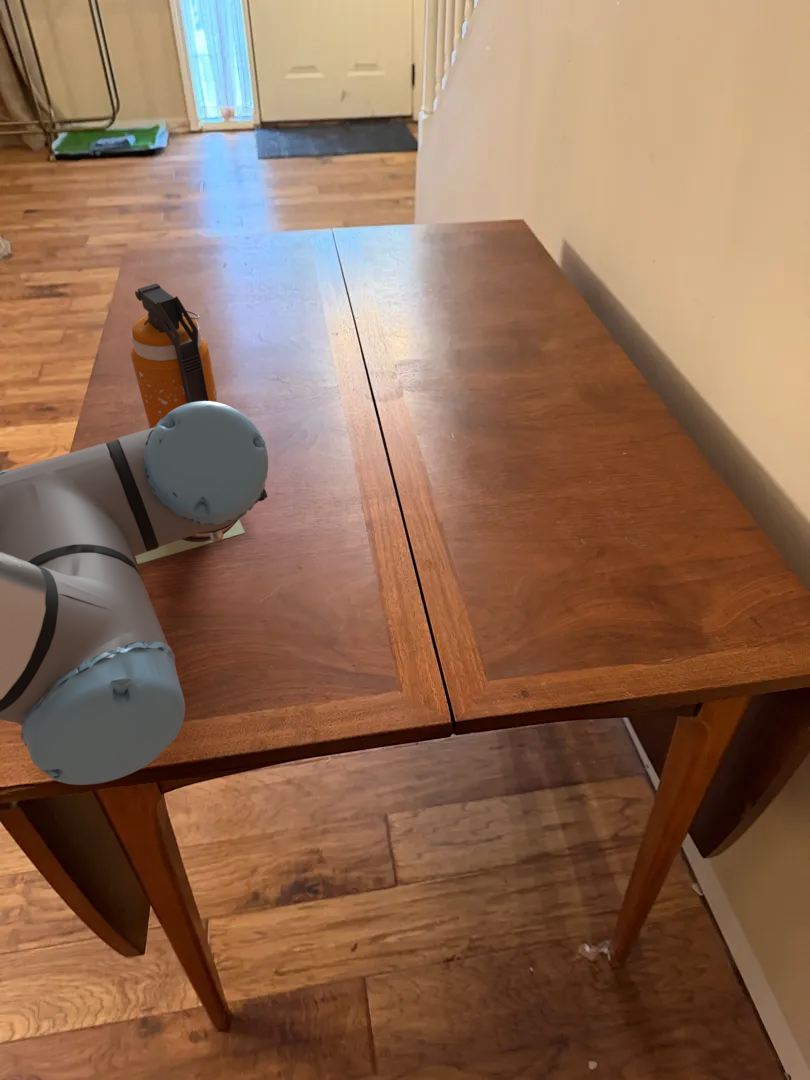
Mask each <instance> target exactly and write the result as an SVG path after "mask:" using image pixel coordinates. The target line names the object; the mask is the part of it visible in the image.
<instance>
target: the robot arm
mask: <svg viewBox="0 0 810 1080" xmlns="http://www.w3.org/2000/svg"><path fill="white" fill-rule="evenodd" d="M268 471H269V454H268V448H267V444H266V441H265V439H264V437H263V435H262V433H261V432H260V430H259V428H258V427H257V426H256V424H255V423H254V422H253V421H252V420H251V419H250V418H249V417H248V416H247V415H245V414H244V413H243V412H241V411H239V410H238V409H236V408H235V407H233V406H230V405H228V404H226V403H222V402H219V401H218V402H213V401H197V402H191V403H188V404H184V405H182V406H179V407H177V408H176V409H174V410H172V411H171V412H169V413H168V414H167V415H166V416H165V417H163V418H162V419H161V420H160V421H159V422H158V423H157V425H156V426H155V427H153V428H150V427H149V428H147V429H144V430H141V431H137V432H134V433H130V434H127V435H123V436H120V437H117V439H114V440H111V441H108V442H103V443H99V444H96V445H93V446H89V447H85V448H82V449H78V450H75V451H72V452H71V451H70V452H68V453H64V454H62V455H58V456H55V457H51V458H48V459H44V460H40V461H36V462H33V463H29V464H27V465H23V466H19V467H15V468H13V469H12V468H11V469H4V470H2V471H0V720H1V721H6V722H10V723H16V724H18V725H20V726H21V729H20V739H21V740H22V741H23V744H24V746H26V748H27V751H28V754H29V757H30V759H31V761H32V763H33V764H34V765H35V767H36V768H38V769H39V770H40V771H41V772H43V773H44V774H46V775H48V776H49V778H50V779H51V780H53V781H56V782H59V783H62V784H67V785H75V786H86V785H87V786H88V785H97V784H105V783H108V782H112V781H115V780H118V779H122V778H124V777H126V776H129V775H131V774H133V773H135V772H137V771H140V770H141V769H144V768H146V767H147V766H148V765H149V764H151V763H152V762H153V761H155V760H156V759H157V758H159V757H160V756H161V754H162V753H163V752H164V751H165V749H166V748H169V746H170V744H172V743H173V742H174V741H175V739H177V737H178V735H179V733H180V731H181V729H182V727H183V723H184V721H185V715H186V702H185V697H184V694H183V691H182V687H181V683H180V679H179V674H178V671H177V667H176V657H175V654H174V652H173V650H172V648H171V647H170V645H169V644H168V642H167V639H166V636H165V634H164V631H163V628H162V626H161V624H160V621H159V619H158V615H157V614H156V610H155V608H154V606H153V603H152V601H151V598H150V595H149V593H148V592H147V589H146V586H145V583H144V580H143V578H142V574H141V573H140V571H139V568H138V564H137V561H136V558H135V556H137V555H140V554H142V553H145V552H148V551H151V550H154V549H157V548H158V547H160V546H163V545H166V544H169V543H172V542H175V541H178V540H181V539H182V540H185V541H190V542H205V541H210V540H212V541H216V542H220V541H223V540H224V539H223V537H224V536H223V534H225V533H226V532H227V531H229V530H230V529H231V528H232V527H233V525H234V524H235V523H236V522H237V521H238V519H239V520H240V518H243V517H244V516H246V514H247V513H248V511H251V510H252V509H253V507H254V506H255V505H256V504H258V502H262V501H265V500H266V499H267V498H269V496H268V492H267V490H266V482H267V479H268V473H269V472H268ZM222 539H223V540H222Z"/></svg>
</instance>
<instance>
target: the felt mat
mask: <svg viewBox="0 0 810 1080" xmlns="http://www.w3.org/2000/svg"><path fill="white" fill-rule="evenodd" d="M244 534H246V531H245V529H244V527H243V525H242V523H241V520H240V518H239V519H238V521H237V522H236V523H235V524H234V525H233V527H232V528H231V529H230V530H229V531H227V532H226V533H225V534H223V536H224V537H223V539H222V540H221V541H223V540H226V539H229V538H233V537H237V536H239V535H244ZM216 542H217V541H212V540H210V541H205V542H190V541H185V540H182V539H181V540H178V541H175V542H172V543H169V544H166V545H163V546H160V547H158V548H157V549H154V550H151V551H148V552H145V553H142V554H140V555H137V556H134V559H135V562H136V565H140V564H144V563H147V562H151V561H155V560H158V559H162V558H164V557H165V558H166V557H168V556H171V555H174V554H178V553H182V552H185V551H188V550H191V549H195V548H199V547H203V546H206V545H209V544H212V543H216Z"/></svg>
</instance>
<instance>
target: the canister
mask: <svg viewBox="0 0 810 1080" xmlns="http://www.w3.org/2000/svg"><path fill="white" fill-rule="evenodd" d="M134 295H135V297H136V299H137V300H138V301H139V302H140V301H141V303H142V308H143V309H144V310H145V311H147V314H146V315H143V316H142V317H140V318H139V319H138V320H136V321H135V322H134V324H133V326H132V328H131V332H130V338H131V341H132V346H133V347H131V348H132V349H131V350H130V359H131V361H132V365H133V366H132V367H133V369H134V370H133V371H134V373H135V377H136V381H137V385H138V388H139V392H140V397H141V400H142V404H143V408H144V413H145V415H146V416H145V417H146V419H147V423H148V427H149V429H150V428H153V427H155V426H156V425H157V423H158V422H159V421H160V420H161V419H162V418H163V417H165V416H166V415H167V414H168V413H169V412H171V411H172V410H174V409H176V408H177V407H179V406H182V405H184V404H188V403H191V402H197V401H213V402H218V403H219V398H218V393H217V388H216V387H217V386H216V382H215V377H214V376H215V375H214V370H213V365H212V361H211V355H210V348H209V344H208V341H207V340H206V339H205V338H204V337H203V336H202V332H201V328H200V324H199V322H198V321H197V320H199V319H200V315H199V314H198V313H196V312H194V311H192V310H189V309H186V308H185V306H184V305H183V303H182V301H181V300H180V299H179V297H178V296H173V295H172V294H170V293H168V291H166V290H164V288H162V287H161V285H160V284H158V283H153V284H149V285H146V286H143V287H142V286H141V287H139V288H137V290H135V291H134ZM190 314H191V315H190ZM192 315H194V316H192Z"/></svg>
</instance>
